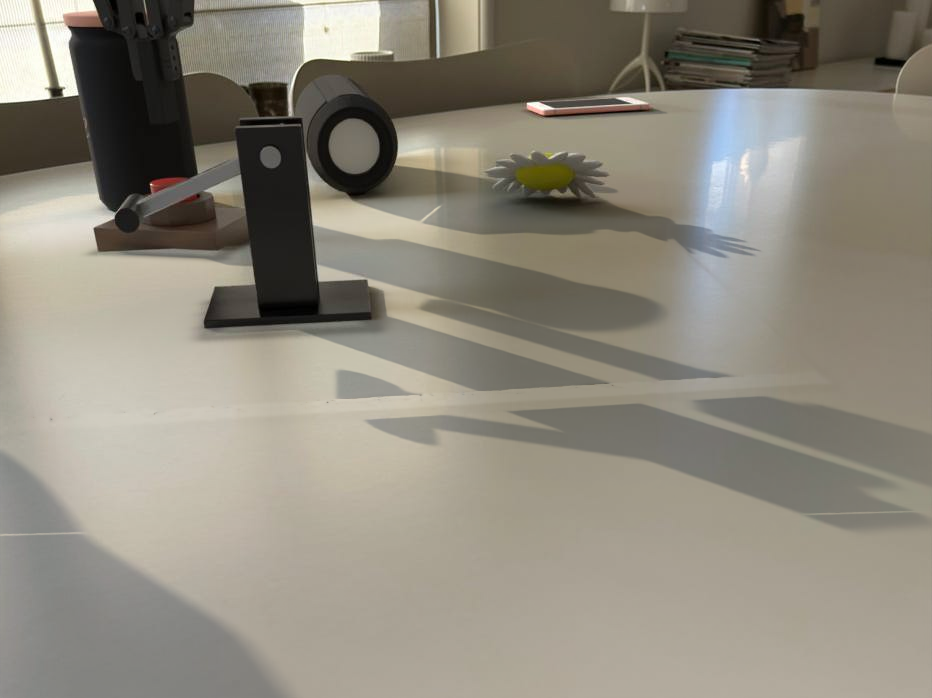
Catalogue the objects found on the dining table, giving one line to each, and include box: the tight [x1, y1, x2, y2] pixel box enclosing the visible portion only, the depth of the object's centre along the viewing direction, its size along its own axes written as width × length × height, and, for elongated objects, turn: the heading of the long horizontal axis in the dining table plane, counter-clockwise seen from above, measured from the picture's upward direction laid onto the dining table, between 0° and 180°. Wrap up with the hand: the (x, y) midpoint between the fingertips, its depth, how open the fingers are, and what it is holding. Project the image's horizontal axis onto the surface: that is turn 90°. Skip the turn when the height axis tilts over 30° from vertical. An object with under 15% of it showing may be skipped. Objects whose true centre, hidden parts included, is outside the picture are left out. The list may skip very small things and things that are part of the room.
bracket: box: [203, 115, 373, 329], centre depth 77 cm, size 12×9×13 cm
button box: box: [92, 190, 249, 253], centre depth 99 cm, size 12×10×4 cm
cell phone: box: [526, 96, 650, 116], centre depth 170 cm, size 9×18×1 cm, turn 106°
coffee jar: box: [62, 8, 199, 213], centre depth 110 cm, size 11×11×18 cm
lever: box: [113, 123, 284, 233], centre depth 75 cm, size 13×5×2 cm, turn 97°
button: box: [150, 178, 197, 202], centre depth 98 cm, size 4×4×2 cm
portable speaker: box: [294, 73, 399, 195], centre depth 123 cm, size 26×10×10 cm, turn 12°
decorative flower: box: [483, 150, 610, 199], centre depth 117 cm, size 13×5×30 cm
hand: (165, 121), depth 95 cm, fingers closed
